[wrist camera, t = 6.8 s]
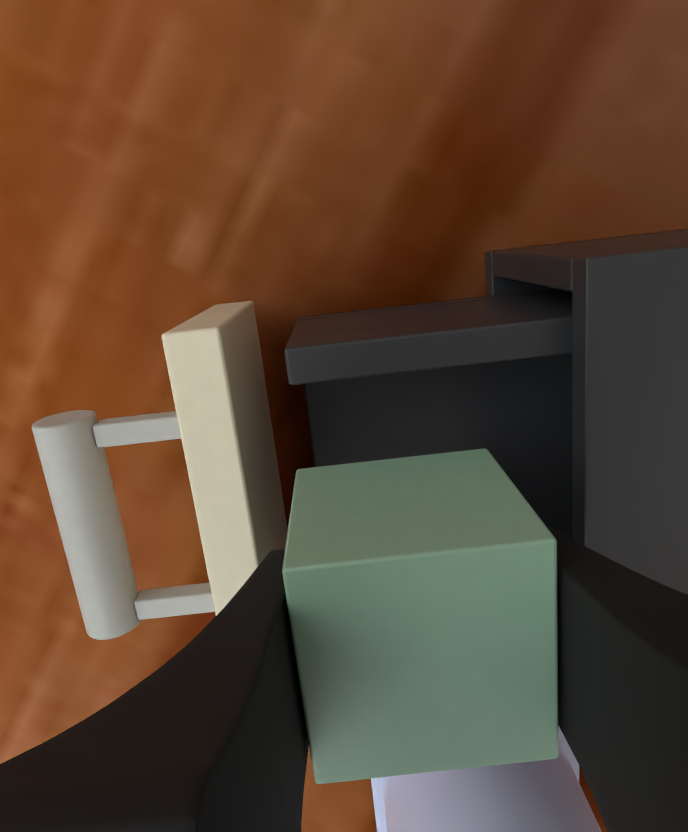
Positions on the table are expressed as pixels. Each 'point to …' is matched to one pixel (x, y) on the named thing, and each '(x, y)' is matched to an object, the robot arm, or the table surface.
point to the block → (421, 617)
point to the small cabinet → (622, 389)
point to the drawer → (316, 429)
